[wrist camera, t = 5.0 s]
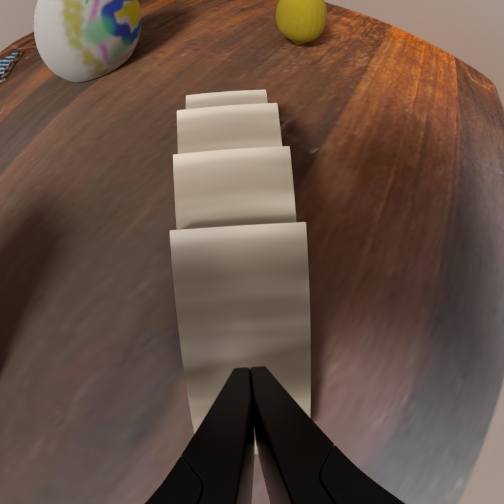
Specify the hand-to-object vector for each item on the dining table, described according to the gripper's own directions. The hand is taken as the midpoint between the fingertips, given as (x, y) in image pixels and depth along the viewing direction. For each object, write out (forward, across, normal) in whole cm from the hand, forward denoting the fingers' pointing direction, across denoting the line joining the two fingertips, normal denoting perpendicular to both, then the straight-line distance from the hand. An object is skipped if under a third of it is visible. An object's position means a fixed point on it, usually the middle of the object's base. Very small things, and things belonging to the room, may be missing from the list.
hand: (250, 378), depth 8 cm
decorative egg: (+29, +16, -18) cm, 37 cm away
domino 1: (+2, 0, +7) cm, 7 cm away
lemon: (+29, -8, -18) cm, 35 cm away
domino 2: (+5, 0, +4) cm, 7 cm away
